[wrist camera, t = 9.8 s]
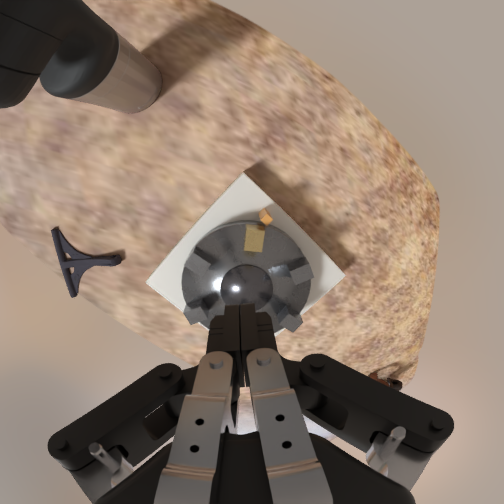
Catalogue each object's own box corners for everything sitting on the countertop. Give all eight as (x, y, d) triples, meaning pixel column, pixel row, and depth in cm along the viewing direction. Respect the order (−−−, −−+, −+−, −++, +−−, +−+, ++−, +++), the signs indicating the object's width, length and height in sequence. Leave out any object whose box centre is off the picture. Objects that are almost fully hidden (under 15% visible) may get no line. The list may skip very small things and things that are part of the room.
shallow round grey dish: (186, 214, 40) (179, 222, 35) (318, 228, 41) (328, 238, 37) (184, 324, 47) (179, 342, 42) (294, 333, 48) (299, 350, 44)
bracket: (131, 291, 48) (126, 299, 45) (73, 293, 48) (67, 300, 45) (114, 218, 43) (107, 222, 40) (54, 228, 43) (46, 232, 40)
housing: (150, 274, 46) (138, 294, 40) (242, 171, 41) (243, 175, 34) (247, 347, 53) (249, 372, 46) (340, 268, 48) (354, 286, 41)
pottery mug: (360, 398, 63) (360, 413, 56) (355, 370, 64) (354, 384, 56) (401, 387, 59) (405, 402, 51) (397, 359, 60) (402, 371, 52)
